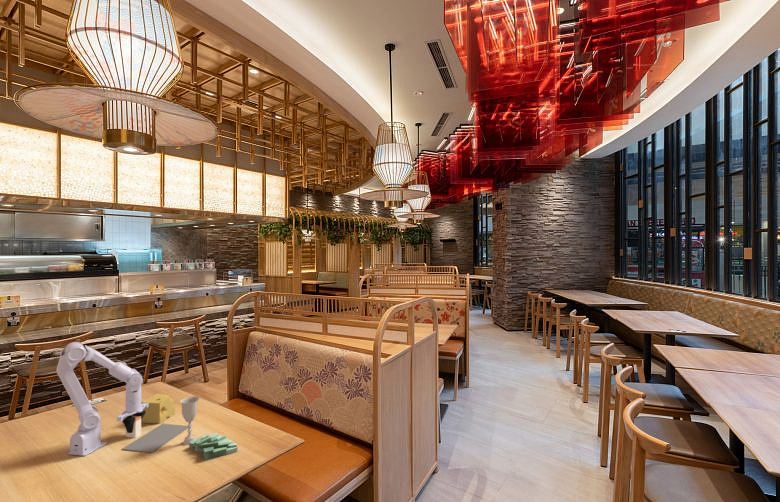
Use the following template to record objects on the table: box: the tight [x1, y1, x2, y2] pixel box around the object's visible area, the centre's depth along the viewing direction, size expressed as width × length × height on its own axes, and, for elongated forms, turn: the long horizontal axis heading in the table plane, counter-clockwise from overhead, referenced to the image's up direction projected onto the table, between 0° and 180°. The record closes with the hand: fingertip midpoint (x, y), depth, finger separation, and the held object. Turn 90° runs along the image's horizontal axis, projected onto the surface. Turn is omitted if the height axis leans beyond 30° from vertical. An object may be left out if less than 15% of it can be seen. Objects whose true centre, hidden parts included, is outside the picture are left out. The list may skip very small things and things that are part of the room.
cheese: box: [141, 393, 176, 425], centre depth 178 cm, size 10×11×10 cm
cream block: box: [124, 416, 142, 439], centre depth 162 cm, size 3×5×8 cm, turn 82°
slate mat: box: [121, 423, 188, 454], centre depth 160 cm, size 22×14×1 cm, turn 172°
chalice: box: [179, 395, 200, 446], centre depth 156 cm, size 7×7×18 cm
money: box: [188, 432, 239, 461], centre depth 151 cm, size 20×16×5 cm
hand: (133, 430), depth 162 cm, fingers open, 3 cm apart
